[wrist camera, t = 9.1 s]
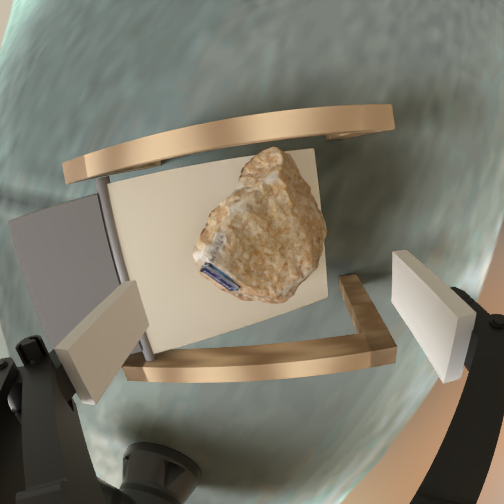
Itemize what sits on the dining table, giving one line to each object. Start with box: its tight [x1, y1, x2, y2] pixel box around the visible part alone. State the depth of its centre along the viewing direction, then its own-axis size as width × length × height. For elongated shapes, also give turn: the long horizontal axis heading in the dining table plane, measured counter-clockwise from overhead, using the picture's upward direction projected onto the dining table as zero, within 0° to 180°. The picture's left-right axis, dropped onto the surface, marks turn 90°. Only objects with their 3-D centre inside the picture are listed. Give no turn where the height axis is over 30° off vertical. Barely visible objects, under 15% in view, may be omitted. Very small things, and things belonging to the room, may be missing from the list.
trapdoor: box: [9, 148, 328, 361], centre depth 24 cm, size 24×14×5 cm, turn 99°
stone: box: [193, 147, 327, 304], centre depth 21 cm, size 8×10×4 cm
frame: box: [62, 104, 397, 383], centre depth 25 cm, size 21×18×14 cm
